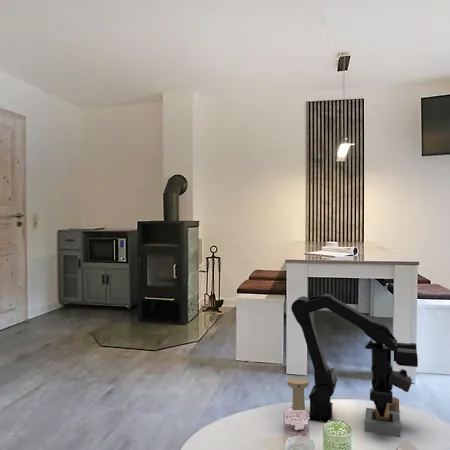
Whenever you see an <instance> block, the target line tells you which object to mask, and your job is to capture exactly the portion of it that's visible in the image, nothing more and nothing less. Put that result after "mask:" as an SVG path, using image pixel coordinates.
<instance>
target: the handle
mask: <svg viewBox="0 0 450 450" xmlns="http://www.w3.org/2000/svg"><path fill="white" fill-rule="evenodd" d="M309 385H310V381H309V379H307V378H304V377H291V378H287V386H288V387H290V388H292V403H291V404H292V405H291V407H292V408H291V410H292V409H293V410H305V411H306V404H305V403H306V402H305V389H306V388H308V387H309Z"/></svg>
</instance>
